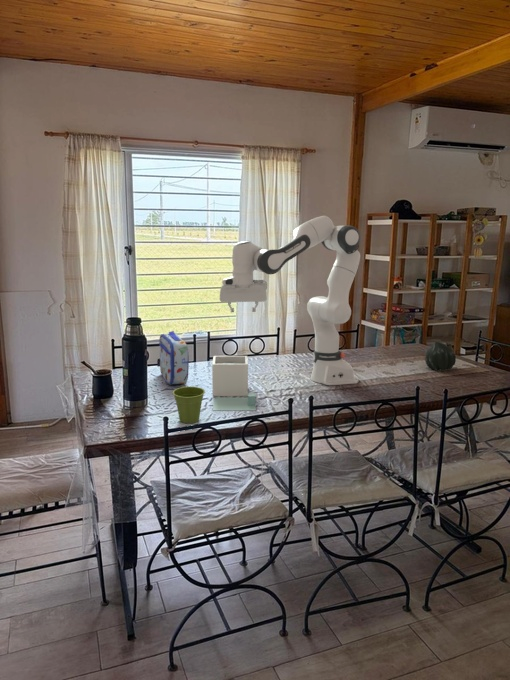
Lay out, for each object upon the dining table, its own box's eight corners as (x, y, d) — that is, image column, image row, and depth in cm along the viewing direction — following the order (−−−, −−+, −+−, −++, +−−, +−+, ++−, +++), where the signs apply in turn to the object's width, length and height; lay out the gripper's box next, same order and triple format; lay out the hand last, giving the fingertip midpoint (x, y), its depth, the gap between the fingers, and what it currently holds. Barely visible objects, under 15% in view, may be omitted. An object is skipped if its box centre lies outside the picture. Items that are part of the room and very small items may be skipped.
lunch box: (156, 372, 248) (154, 328, 243) (176, 370, 251) (175, 327, 246) (169, 389, 223) (167, 340, 218) (191, 386, 227) (190, 339, 222)
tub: (246, 385, 229) (247, 355, 226) (247, 395, 215) (247, 364, 212) (213, 385, 228) (213, 355, 225) (212, 396, 215) (212, 364, 211)
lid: (254, 399, 213) (254, 388, 212) (255, 412, 198) (255, 400, 197) (214, 399, 212) (214, 388, 211) (212, 412, 198) (212, 400, 197)
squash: (466, 361, 253) (450, 335, 259) (448, 366, 245) (432, 340, 250) (446, 373, 264) (432, 349, 269) (428, 379, 256) (413, 354, 261)
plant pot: (167, 423, 185) (166, 394, 182) (183, 412, 195) (182, 385, 193) (196, 428, 181) (195, 398, 178) (210, 416, 191) (210, 388, 189)
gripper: (266, 278, 218) (266, 310, 221) (219, 279, 217) (219, 310, 220) (267, 280, 212) (267, 312, 215) (219, 281, 211) (219, 313, 214)
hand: (243, 311), depth 218 cm, fingers open, 8 cm apart
